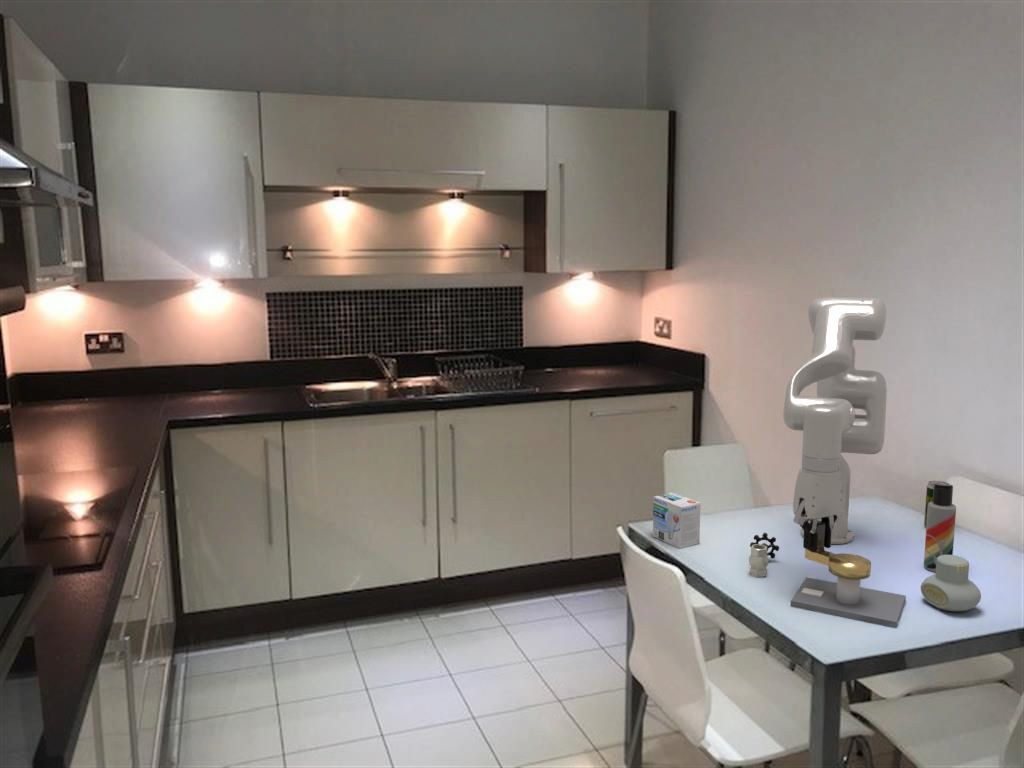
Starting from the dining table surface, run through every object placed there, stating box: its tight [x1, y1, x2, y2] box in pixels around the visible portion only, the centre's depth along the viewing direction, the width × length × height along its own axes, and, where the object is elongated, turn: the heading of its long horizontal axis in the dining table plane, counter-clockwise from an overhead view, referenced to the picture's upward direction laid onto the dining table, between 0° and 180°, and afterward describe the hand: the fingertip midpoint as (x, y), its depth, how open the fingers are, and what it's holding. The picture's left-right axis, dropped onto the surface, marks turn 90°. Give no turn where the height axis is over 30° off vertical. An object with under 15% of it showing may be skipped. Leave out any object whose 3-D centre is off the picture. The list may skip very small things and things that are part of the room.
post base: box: [790, 576, 907, 629], centre depth 176 cm, size 14×20×7 cm
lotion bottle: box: [923, 484, 957, 573], centre depth 192 cm, size 6×6×20 cm
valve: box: [748, 532, 780, 578], centre depth 195 cm, size 7×7×12 cm
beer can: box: [923, 480, 951, 529], centre depth 218 cm, size 5×5×12 cm
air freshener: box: [920, 555, 982, 612], centre depth 174 cm, size 11×8×10 cm
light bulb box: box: [652, 491, 701, 550], centre depth 213 cm, size 11×7×11 cm, turn 31°
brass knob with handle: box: [804, 521, 872, 581], centre depth 176 cm, size 8×14×8 cm, turn 34°
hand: (816, 547), depth 180 cm, fingers open, 3 cm apart
